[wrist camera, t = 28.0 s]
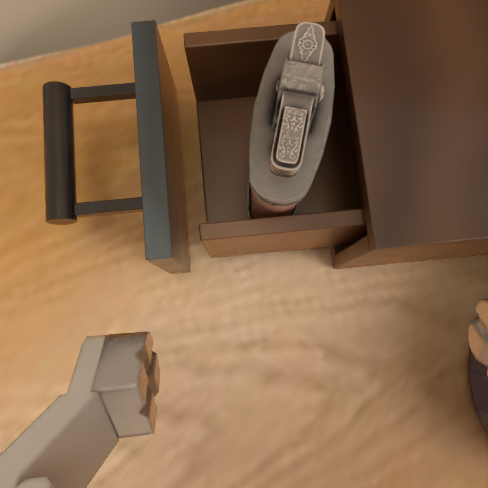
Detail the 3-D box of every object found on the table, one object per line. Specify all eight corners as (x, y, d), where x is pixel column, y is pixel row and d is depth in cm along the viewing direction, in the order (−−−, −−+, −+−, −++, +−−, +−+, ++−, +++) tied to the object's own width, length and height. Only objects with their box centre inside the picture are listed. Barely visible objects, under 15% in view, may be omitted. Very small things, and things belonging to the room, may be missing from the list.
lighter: (263, 103, 27) (275, -20, 17) (316, 113, 26) (361, -5, 17) (237, 229, 25) (235, 175, 15) (294, 240, 25) (328, 193, 15)
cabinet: (333, 269, 27) (375, 249, 18) (308, 77, 29) (335, -20, 21) (545, 248, 27) (683, 219, 19) (505, 59, 29) (613, -44, 21)
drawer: (89, 281, 26) (36, 270, 19) (82, 98, 28) (31, 30, 21) (374, 254, 26) (420, 233, 19) (348, 74, 28) (381, 0, 21)
